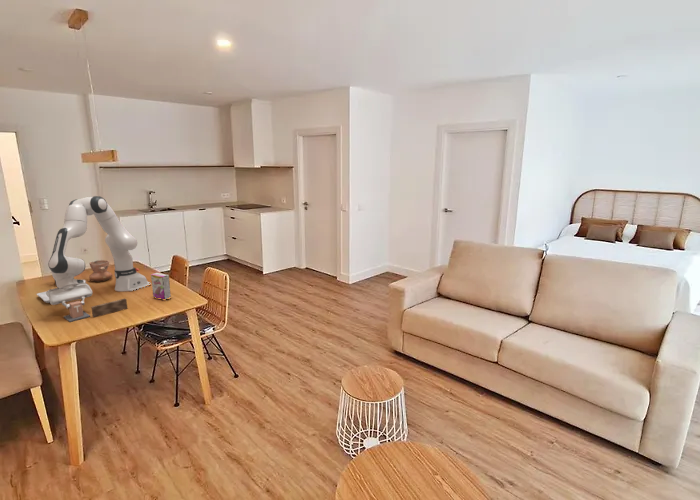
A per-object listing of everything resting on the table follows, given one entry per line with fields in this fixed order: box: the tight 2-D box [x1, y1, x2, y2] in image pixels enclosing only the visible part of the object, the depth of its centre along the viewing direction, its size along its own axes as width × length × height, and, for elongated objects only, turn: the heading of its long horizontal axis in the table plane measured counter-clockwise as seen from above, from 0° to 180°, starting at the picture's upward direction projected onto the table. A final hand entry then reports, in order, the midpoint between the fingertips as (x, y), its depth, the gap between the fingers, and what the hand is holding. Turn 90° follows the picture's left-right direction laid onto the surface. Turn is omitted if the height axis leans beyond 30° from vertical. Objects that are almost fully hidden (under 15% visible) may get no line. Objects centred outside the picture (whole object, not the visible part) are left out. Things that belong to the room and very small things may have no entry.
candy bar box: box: [150, 272, 172, 299], centre depth 250 cm, size 11×5×16 cm, turn 65°
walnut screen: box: [91, 298, 128, 318], centre depth 226 cm, size 18×2×6 cm, turn 142°
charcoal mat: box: [63, 310, 91, 323], centre depth 219 cm, size 10×10×1 cm
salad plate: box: [36, 291, 50, 304], centre depth 249 cm, size 21×21×3 cm
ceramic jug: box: [88, 259, 113, 283], centre depth 284 cm, size 18×14×14 cm
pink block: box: [67, 299, 84, 318], centre depth 218 cm, size 5×5×8 cm
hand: (75, 306), depth 217 cm, fingers open, 6 cm apart
